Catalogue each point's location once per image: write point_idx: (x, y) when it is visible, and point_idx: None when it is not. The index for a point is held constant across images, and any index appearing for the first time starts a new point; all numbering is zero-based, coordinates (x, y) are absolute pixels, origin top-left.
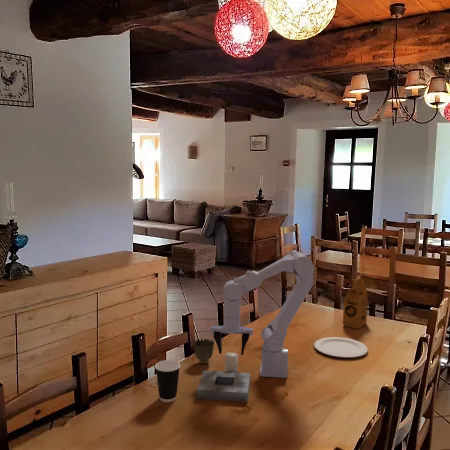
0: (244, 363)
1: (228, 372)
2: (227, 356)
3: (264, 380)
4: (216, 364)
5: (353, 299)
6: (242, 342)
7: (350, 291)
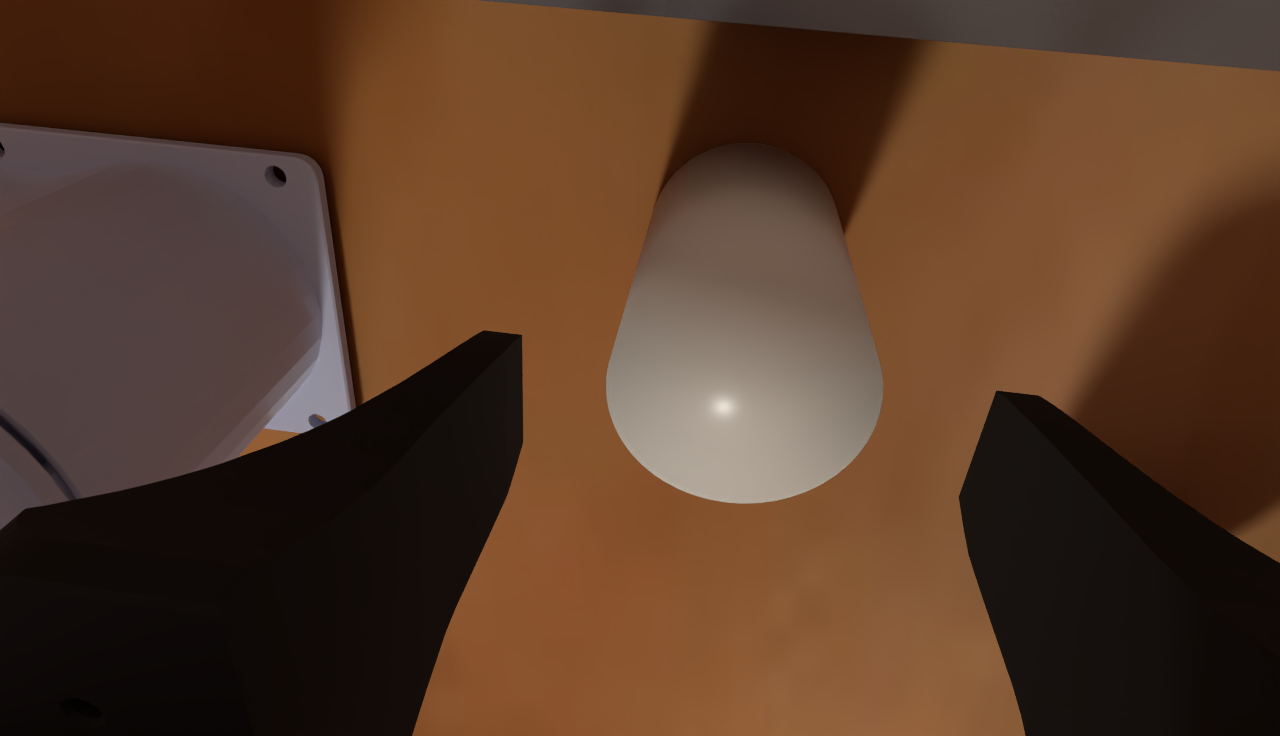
0: (568, 518)
1: (811, 1)
2: (837, 327)
3: (236, 36)
4: (932, 503)
5: None
6: (340, 489)
7: None
